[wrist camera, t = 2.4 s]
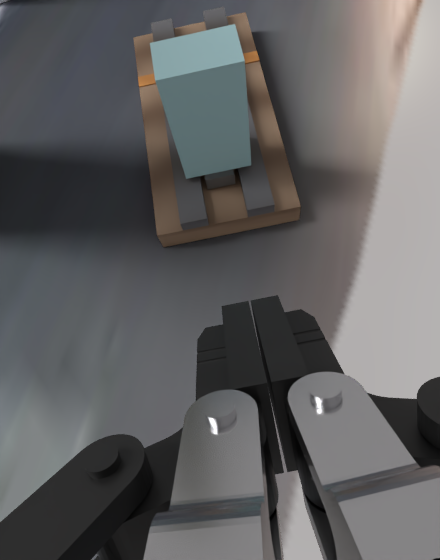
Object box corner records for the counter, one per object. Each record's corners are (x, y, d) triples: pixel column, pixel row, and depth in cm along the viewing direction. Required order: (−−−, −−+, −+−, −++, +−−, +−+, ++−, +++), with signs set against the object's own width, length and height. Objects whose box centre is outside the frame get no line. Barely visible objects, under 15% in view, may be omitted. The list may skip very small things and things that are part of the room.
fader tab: (253, 180, 31) (246, 67, 22) (190, 193, 31) (156, 87, 22) (243, 139, 33) (233, 18, 23) (183, 152, 33) (148, 37, 23)
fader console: (299, 220, 32) (301, 199, 29) (163, 247, 32) (153, 229, 30) (246, 32, 40) (244, 1, 37) (139, 55, 41) (130, 27, 38)
